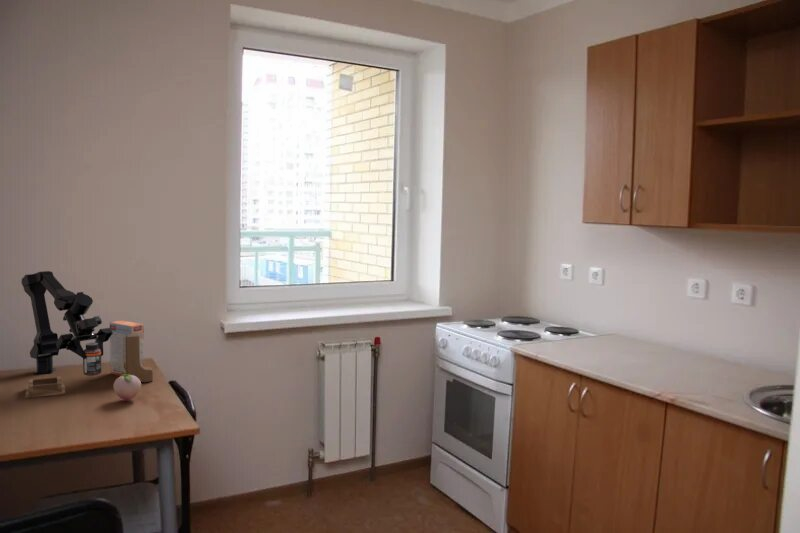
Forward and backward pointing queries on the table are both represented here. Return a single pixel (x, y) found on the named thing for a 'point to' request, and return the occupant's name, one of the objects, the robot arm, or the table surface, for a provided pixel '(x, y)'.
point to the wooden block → (136, 360)
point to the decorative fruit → (127, 386)
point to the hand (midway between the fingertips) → (94, 356)
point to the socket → (45, 387)
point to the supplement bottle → (92, 360)
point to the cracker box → (123, 344)
